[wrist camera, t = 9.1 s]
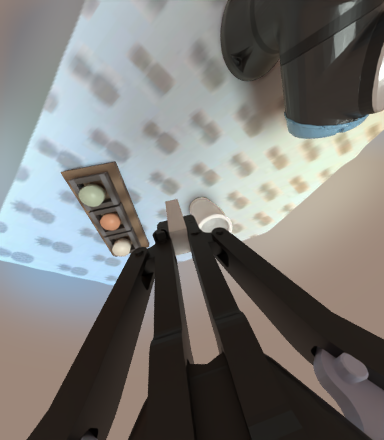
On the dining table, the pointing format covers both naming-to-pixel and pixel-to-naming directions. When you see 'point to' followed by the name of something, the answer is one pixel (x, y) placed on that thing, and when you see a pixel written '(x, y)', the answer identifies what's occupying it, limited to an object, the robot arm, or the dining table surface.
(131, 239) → the button board
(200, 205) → the jar
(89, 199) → the button sage
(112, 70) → the dining table surface
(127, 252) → the button cream
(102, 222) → the button terracotta
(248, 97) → the dining table surface
